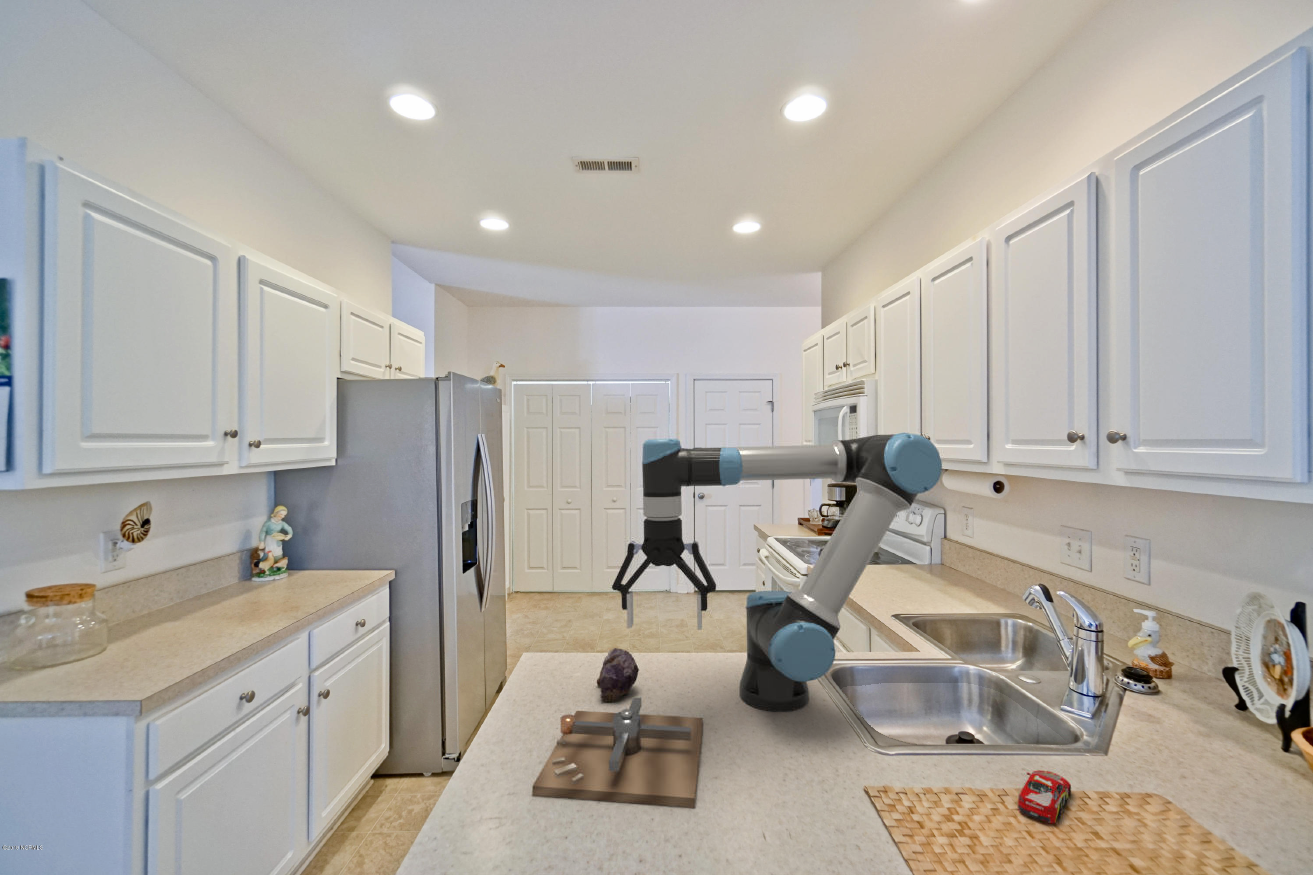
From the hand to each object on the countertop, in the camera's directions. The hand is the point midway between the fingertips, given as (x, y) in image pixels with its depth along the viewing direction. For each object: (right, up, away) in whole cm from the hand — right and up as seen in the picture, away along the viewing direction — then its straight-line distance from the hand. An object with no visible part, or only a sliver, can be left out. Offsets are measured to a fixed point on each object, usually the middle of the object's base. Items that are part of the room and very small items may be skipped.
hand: (664, 626), depth 110 cm
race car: (+59, -20, -22) cm, 66 cm away
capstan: (-7, -19, -8) cm, 22 cm away
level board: (-7, -21, -8) cm, 23 cm away
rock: (-11, -21, +18) cm, 30 cm away
